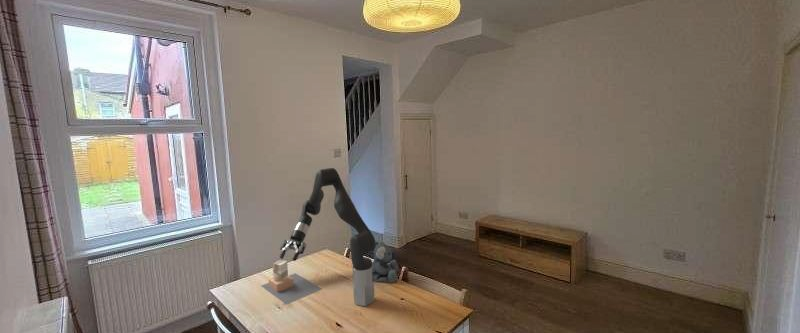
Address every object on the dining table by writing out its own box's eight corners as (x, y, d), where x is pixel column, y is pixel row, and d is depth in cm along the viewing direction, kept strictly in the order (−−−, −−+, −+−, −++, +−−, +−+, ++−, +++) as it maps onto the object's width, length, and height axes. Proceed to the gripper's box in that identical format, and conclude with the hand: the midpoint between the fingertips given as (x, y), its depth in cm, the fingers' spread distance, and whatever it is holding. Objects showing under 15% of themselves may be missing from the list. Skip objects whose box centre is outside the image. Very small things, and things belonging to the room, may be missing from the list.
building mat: (322, 289, 163) (322, 288, 163) (286, 305, 149) (286, 304, 149) (295, 274, 182) (295, 273, 182) (260, 286, 168) (260, 285, 168)
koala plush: (397, 283, 169) (397, 248, 167) (364, 284, 169) (363, 248, 167) (398, 270, 186) (398, 237, 184) (368, 270, 187) (367, 238, 185)
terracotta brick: (293, 285, 167) (293, 278, 167) (277, 292, 160) (276, 284, 160) (285, 280, 173) (284, 273, 173) (269, 286, 167) (268, 279, 166)
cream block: (288, 277, 168) (287, 261, 167) (281, 281, 163) (280, 265, 162) (280, 276, 170) (279, 260, 169) (273, 280, 165) (272, 263, 164)
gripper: (286, 228, 180) (272, 254, 171) (307, 230, 175) (294, 258, 166) (293, 234, 185) (280, 260, 176) (313, 236, 180) (301, 263, 171)
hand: (287, 259), depth 171 cm, fingers open, 8 cm apart
